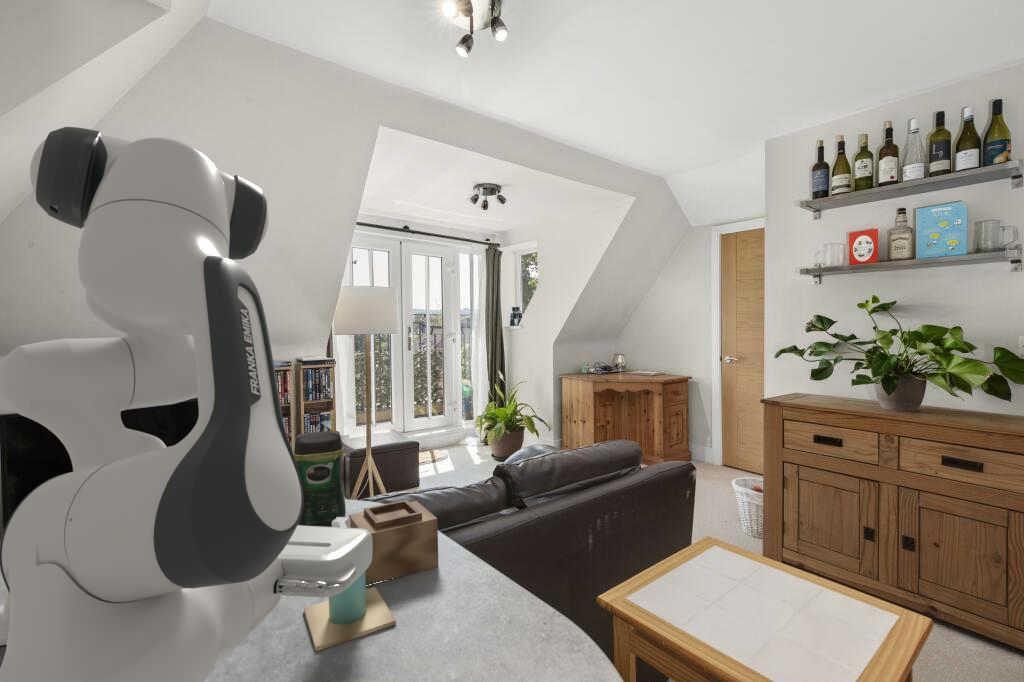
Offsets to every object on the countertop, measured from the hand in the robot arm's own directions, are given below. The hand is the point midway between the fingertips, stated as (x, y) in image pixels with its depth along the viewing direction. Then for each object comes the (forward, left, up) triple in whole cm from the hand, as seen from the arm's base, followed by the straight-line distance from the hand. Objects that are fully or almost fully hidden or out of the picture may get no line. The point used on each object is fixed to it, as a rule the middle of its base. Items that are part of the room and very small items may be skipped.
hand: (305, 521), depth 56 cm
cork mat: (+6, +8, -17) cm, 20 cm away
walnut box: (+16, +20, -17) cm, 31 cm away
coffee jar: (+9, +47, -17) cm, 51 cm away
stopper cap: (+6, +8, -17) cm, 19 cm away
